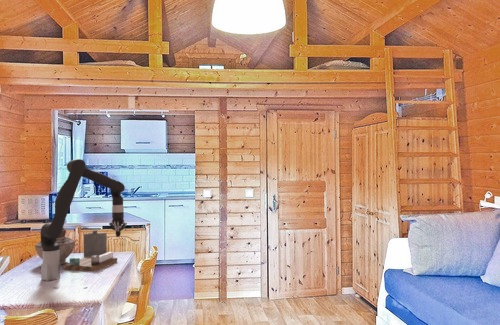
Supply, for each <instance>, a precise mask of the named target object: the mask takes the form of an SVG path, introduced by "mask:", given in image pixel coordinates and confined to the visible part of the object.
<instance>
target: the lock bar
mask: <svg viewBox="0 0 500 325" xmlns="http://www.w3.org/2000/svg"><path fill="white" fill-rule="evenodd" d="M111 258H114V251H107V253H105V254H102V255H94V256H91V265H98V264H99V263H101V262H104V261H106V260H109V259H111Z"/></svg>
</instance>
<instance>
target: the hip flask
mask: <svg viewBox="0 0 500 325" xmlns="http://www.w3.org/2000/svg"><path fill="white" fill-rule="evenodd" d="M91 231H92V232H87V233H83V258H84V257H87V256H94V255H102V254H105V253H108V251H107V250H108V249H107V248H108V247H107V246H108V245H107V243H108V242H107V241H108V240H107V239H108V238H107V232H98V231H99V230H98V229H93V230H91Z"/></svg>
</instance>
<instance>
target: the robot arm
mask: <svg viewBox="0 0 500 325" xmlns="http://www.w3.org/2000/svg"><path fill="white" fill-rule="evenodd" d="M86 166H87V165H86V162H85V161H84V160H83V159H81V158H76V159H71V160H70V161H68V162H67V164H66V169H67V171H68V172H69V174H68V175H67V179H66V180H65V182H64V183H63V184H62V185H61V187H60V189H58V192H57V195H56V197H55V201H54V214H53V218H52V220H51V222H47V223H44V224H42V227H41V228H40V241H41V246H42V249H43V259H42V263H40V268H41V269H40V271H41V272H40V274H41V276H40V278H41V281H45V282H48V281H49V282H50V281H55V280H58V279H60V278H61V267H60V266H61V265H60V246H59V244H58V243H57V241H56V239H57V238H58V237H59V236H60V235H61V233H62V230H63V228H64V226H65V221H66V218H67V215H68V212H69V210H70V208H71V205H72V203H73V200H74V197H75V195H76V194H75V193H76V191H77V189H78V186H79V183H80V181H81V179H82V177H83V178H85V179H86V180H87V179H88V180H89V181H92V182H93V183H96V184H98V185H100V186H102V187H104V188H107V189H110V194H111V197H112V198H111V200H112V201H111V202H112V206H111V209H112V210H111V218H112V220H111V222H109V226H110V227H111V229H112V231H115V237H116V238H118V237H121V234H122V232H121V231H124V229H125V228H126V226H127V225H128V223H127V222H126V221H125V219H124V218H125V216H124V214H125V212H124V210H125V209H124V197H123V196H122V193H123V192H124V191H125V189H126V186H125V185H124V183H123V182H121V181H119V180H116V179H114V178H111V177H109V176H108V175H106V174H103V173H101V172H98V171H95V170H92V169H90V168H89V167H88V168H87V167H86Z"/></svg>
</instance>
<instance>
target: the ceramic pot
mask: <svg viewBox="0 0 500 325" xmlns="http://www.w3.org/2000/svg"><path fill="white" fill-rule="evenodd" d="M66 233H67V229H66V228H65V227H63V230H62V233H61V235H60V236H59V237H58V238H57V239H56V241H57V243H58V244H59V246H60V266H61V265H65V264H66V259H67V258H69V256H70V255H71V254H72V253H73V251H74V248H75V245H76V244H75V242H76V241H75V240H74V239H72V238H70V237H68V236H66V235H67V234H66ZM34 248H35V251H36V254H37V255H38V256H39V258H40V259H42V260H43V249H42V246H41V240H40V241H38V242H37V243H36V244H35V246H34Z"/></svg>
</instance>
